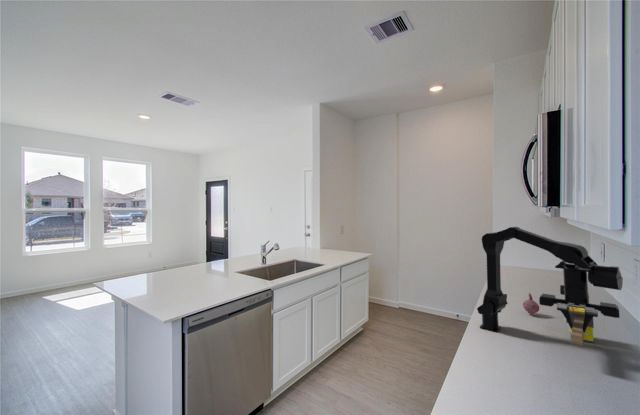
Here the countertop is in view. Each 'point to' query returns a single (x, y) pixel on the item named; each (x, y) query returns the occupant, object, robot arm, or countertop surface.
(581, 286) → the robot arm
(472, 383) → the countertop surface
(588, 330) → the supplement box
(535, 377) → the countertop surface
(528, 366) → the countertop surface
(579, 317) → the bar
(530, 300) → the vegetable
